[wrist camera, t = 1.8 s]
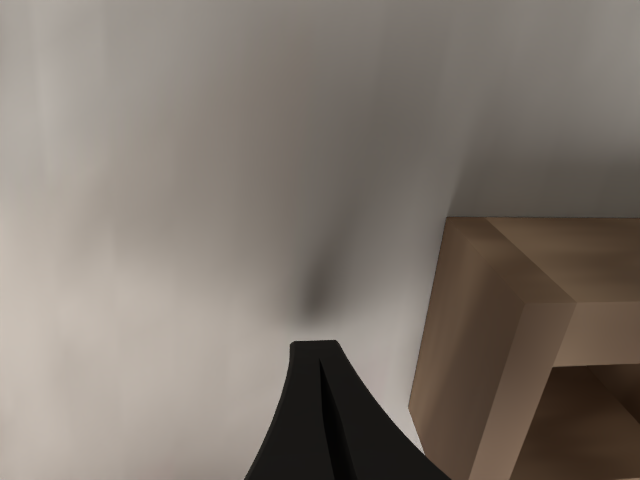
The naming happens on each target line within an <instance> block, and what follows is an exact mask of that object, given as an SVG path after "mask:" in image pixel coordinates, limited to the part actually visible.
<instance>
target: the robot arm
mask: <svg viewBox="0 0 640 480" xmlns="http://www.w3.org/2000/svg"><path fill="white" fill-rule="evenodd" d="M244 480H452V479H451V478H449V477H448V476H447V475H446V474H445V473H444V472H443V471H441V470H440V469H439V468H438V467H437V466H436V465H435V464H434V463H432V462H431V461H430V460H429V459H428V458H427V457H426V456H425V455H424V454H423V453H422V452H421V451H420V450H419V449H418V448H417V447H416V446H415V445H414V444H413V443H412V442H411V441H410V440H409V439H408V438H407V437H406V436H405V435H404V433H403V432H402V431H401V430H400V429H399V428H398V427H397V426H396V425H395V423H394V422H393V421H392V420H391V419H390V418H389V416H388V415H387V414H386V413H385V411H384V410H383V409H382V408H381V406H380V405H379V404H378V403H377V401H376V400H375V399H374V397H373V396H372V395H371V393H370V392H369V390H368V389H367V388H366V386H365V385H364V383H363V382H362V381H361V379H360V378H359V376H358V375H357V373H356V371H355V370H354V368H353V367H352V365H351V364H350V362H349V360H348V359H347V357H346V355H345V353H344V352H343V350H342V348H341V346H340V344H339V343H338V342H337V341H336V340H320V341H294V342H292V343H291V344H290V358H289V367H288V371H287V376H286V380H285V383H284V387H283V391H282V394H281V397H280V400H279V403H278V406H277V409H276V411H275V414H274V417H273V420H272V422H271V425H270V427H269V430H268V432H267V434H266V437H265V439H264V441H263V443H262V445H261V448H260V450H259V452H258V454H257V456H256V458H255V460H254V462H253V464H252V466H251V467H250V469H249V471H248V473H247V475H246V477H245V479H244Z"/></svg>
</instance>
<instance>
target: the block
mask: <svg viewBox="0 0 640 480" xmlns="http://www.w3.org/2000/svg"><path fill="white" fill-rule="evenodd" d="M586 365H587V366H586ZM560 366H573V367H560ZM408 409H409V412H410V414H411V417H412V420H413V423H414V425H415V428H416V431H417V434H418V436H419V439H420V442H421V445H422V447H423V450H424V453H425V456H426V457H427V458H428V459H429V460H430V461H431V462H432V463H434V464H435V465H436V466H437V467H438V468H439V469H440V470H441V471H443V472H444V473H445V474H446V475H447V476H448V477H449V478H451V479H452V480H640V218H510V217H447V218H446V223H445V228H444V233H443V238H442V243H441V248H440V253H439V258H438V263H437V268H436V273H435V278H434V283H433V288H432V293H431V298H430V303H429V308H428V313H427V318H426V322H425V327H424V332H423V337H422V342H421V347H420V352H419V357H418V362H417V367H416V372H415V377H414V382H413V387H412V392H411V397H410V402H409V407H408Z"/></svg>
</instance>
